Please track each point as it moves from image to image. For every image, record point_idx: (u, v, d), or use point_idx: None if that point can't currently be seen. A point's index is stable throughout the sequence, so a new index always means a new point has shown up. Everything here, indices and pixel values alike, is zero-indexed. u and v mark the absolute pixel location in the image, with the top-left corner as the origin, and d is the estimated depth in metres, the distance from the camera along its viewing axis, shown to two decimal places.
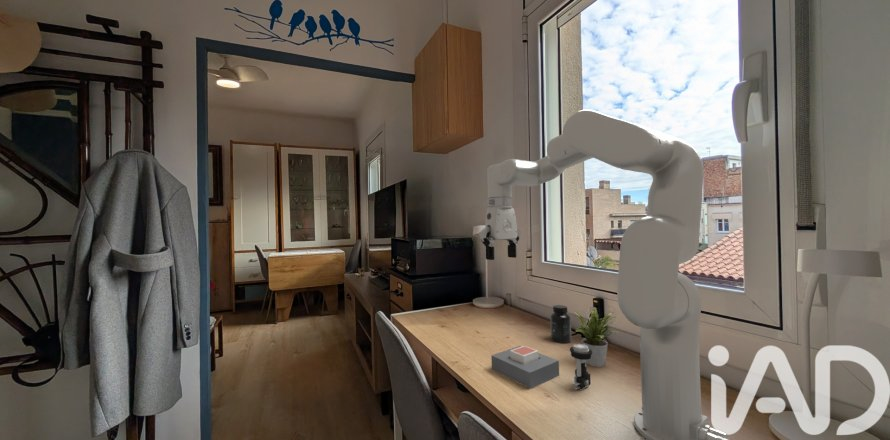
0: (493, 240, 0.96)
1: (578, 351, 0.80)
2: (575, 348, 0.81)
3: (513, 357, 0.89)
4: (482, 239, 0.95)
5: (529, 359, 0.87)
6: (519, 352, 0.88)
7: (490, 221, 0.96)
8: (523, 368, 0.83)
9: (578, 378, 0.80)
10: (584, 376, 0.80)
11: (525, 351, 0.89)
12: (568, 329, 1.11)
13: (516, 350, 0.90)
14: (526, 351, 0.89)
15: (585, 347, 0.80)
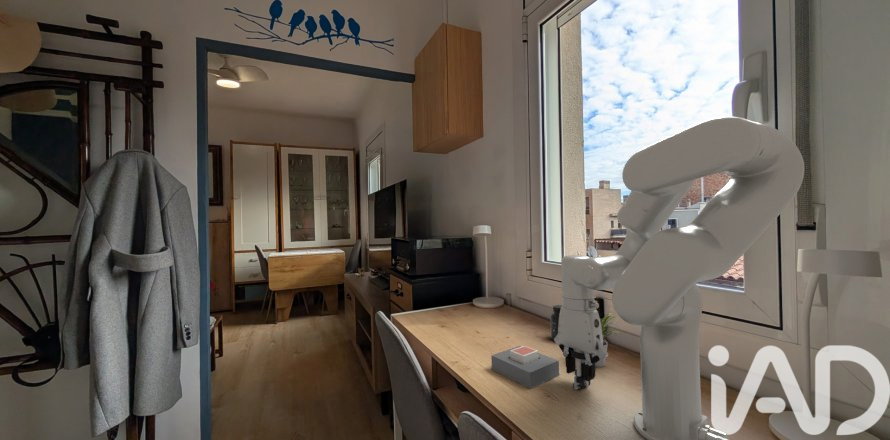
0: None
1: (578, 351, 0.80)
2: None
3: (513, 357, 0.89)
4: (600, 359, 0.77)
5: (529, 359, 0.87)
6: (519, 352, 0.88)
7: (599, 329, 0.78)
8: (523, 368, 0.83)
9: (578, 378, 0.80)
10: (584, 376, 0.80)
11: (525, 351, 0.89)
12: None
13: (516, 350, 0.90)
14: (526, 351, 0.89)
15: None
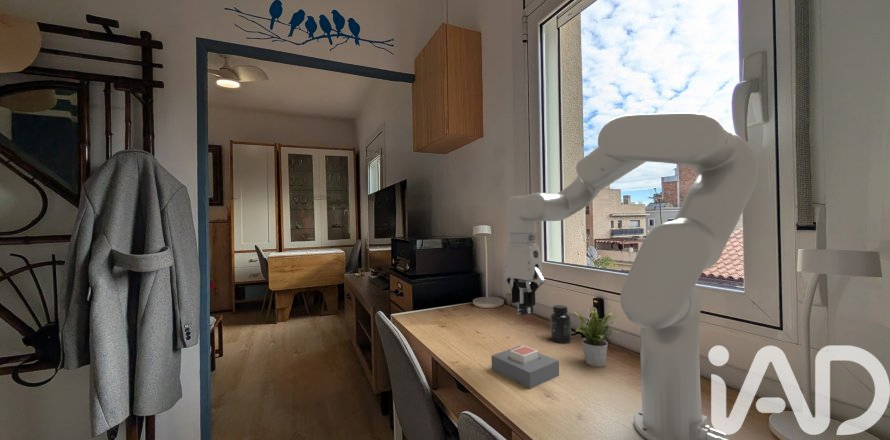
0: None
1: (521, 281, 0.89)
2: None
3: (513, 357, 0.89)
4: (538, 285, 0.86)
5: (529, 359, 0.87)
6: (519, 352, 0.88)
7: (538, 260, 0.87)
8: (523, 368, 0.83)
9: (521, 305, 0.89)
10: None
11: (525, 351, 0.89)
12: (568, 329, 1.11)
13: (516, 350, 0.90)
14: (526, 351, 0.89)
15: None
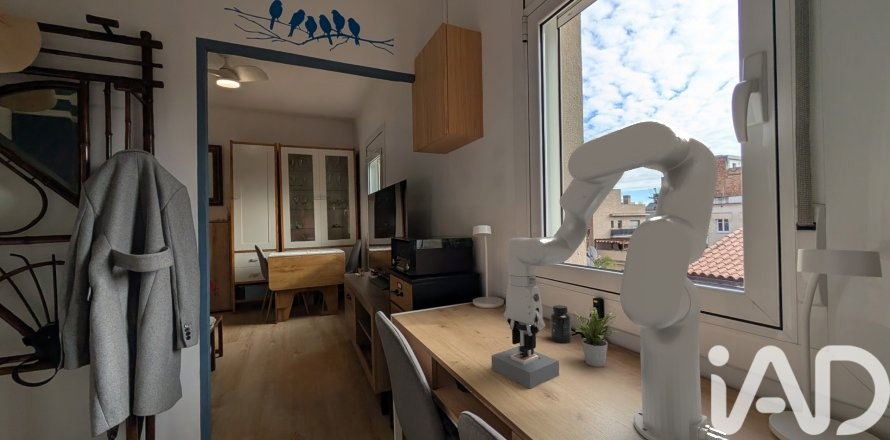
0: None
1: (522, 323, 0.89)
2: None
3: None
4: (539, 329, 0.85)
5: None
6: (519, 357, 0.88)
7: (538, 303, 0.86)
8: (523, 368, 0.83)
9: (521, 347, 0.89)
10: None
11: None
12: (568, 329, 1.11)
13: (516, 355, 0.90)
14: (526, 356, 0.89)
15: None
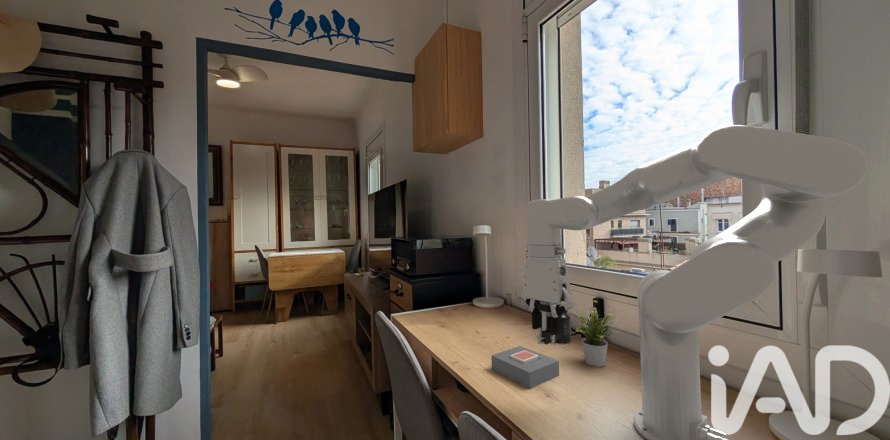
0: None
1: (544, 303, 0.73)
2: None
3: None
4: (567, 310, 0.70)
5: None
6: (519, 357, 0.88)
7: (565, 278, 0.71)
8: (523, 368, 0.83)
9: (543, 332, 0.73)
10: None
11: (525, 356, 0.89)
12: (568, 329, 1.11)
13: (516, 355, 0.90)
14: (526, 356, 0.89)
15: None
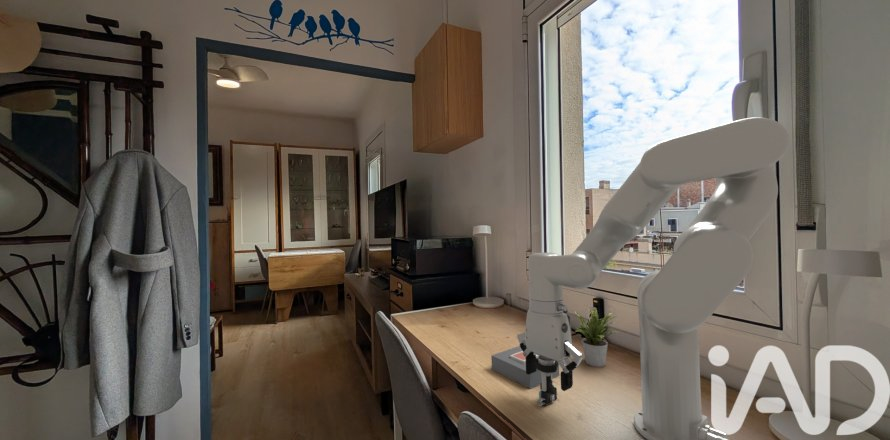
0: None
1: (543, 363, 0.74)
2: (540, 360, 0.74)
3: None
4: (578, 364, 0.67)
5: None
6: (519, 357, 0.88)
7: (567, 334, 0.70)
8: (523, 368, 0.83)
9: (543, 393, 0.73)
10: (549, 391, 0.73)
11: None
12: None
13: (516, 355, 0.90)
14: None
15: (550, 359, 0.74)
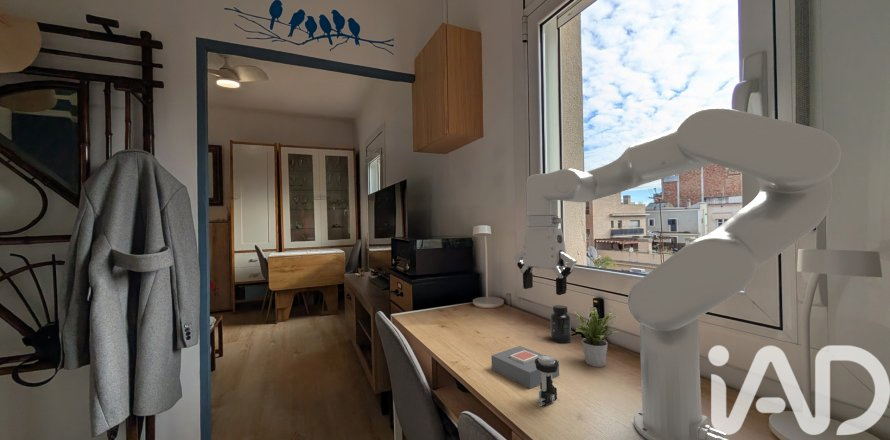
0: None
1: (543, 363, 0.73)
2: (540, 360, 0.74)
3: None
4: (572, 269, 0.74)
5: None
6: (519, 357, 0.88)
7: (562, 245, 0.77)
8: (523, 368, 0.83)
9: (543, 393, 0.73)
10: (549, 391, 0.73)
11: (525, 356, 0.89)
12: (568, 329, 1.11)
13: (516, 355, 0.90)
14: (526, 356, 0.89)
15: (550, 359, 0.74)
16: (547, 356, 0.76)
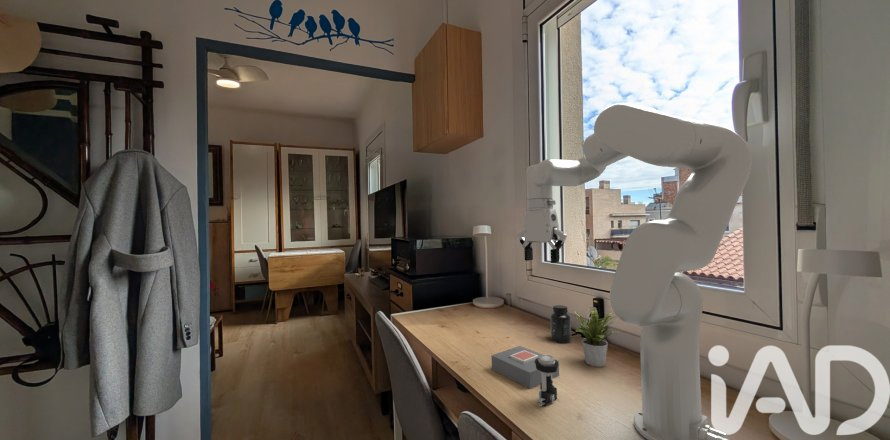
0: None
1: (543, 363, 0.73)
2: (540, 360, 0.74)
3: None
4: (563, 241, 0.91)
5: None
6: (519, 357, 0.88)
7: (555, 223, 0.94)
8: (523, 368, 0.83)
9: (543, 393, 0.73)
10: (549, 391, 0.73)
11: (525, 356, 0.89)
12: (568, 329, 1.11)
13: (516, 355, 0.90)
14: (526, 356, 0.89)
15: (550, 359, 0.74)
16: (547, 356, 0.76)
